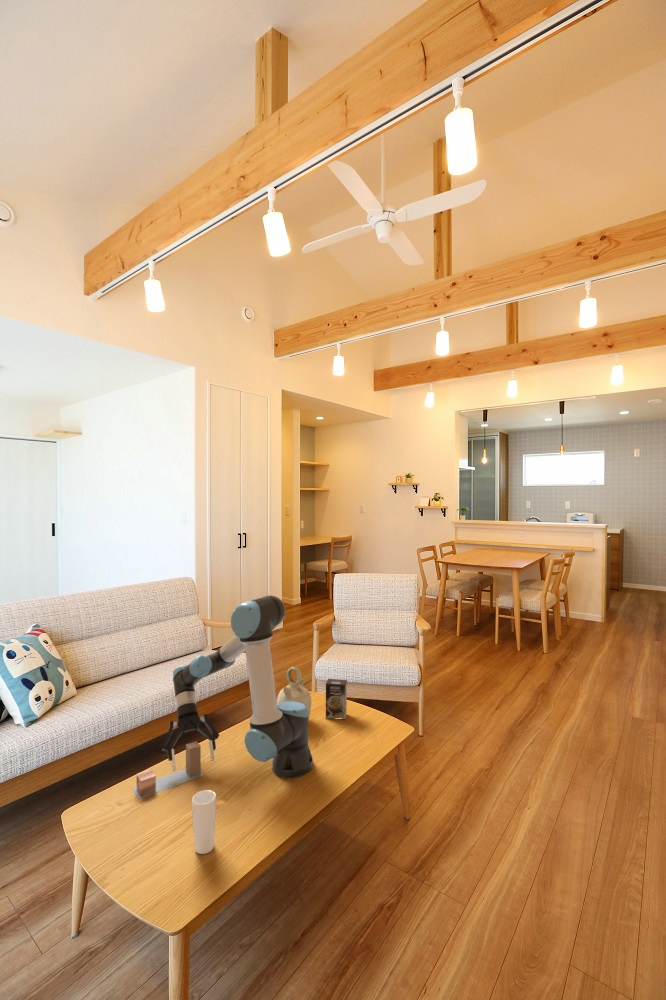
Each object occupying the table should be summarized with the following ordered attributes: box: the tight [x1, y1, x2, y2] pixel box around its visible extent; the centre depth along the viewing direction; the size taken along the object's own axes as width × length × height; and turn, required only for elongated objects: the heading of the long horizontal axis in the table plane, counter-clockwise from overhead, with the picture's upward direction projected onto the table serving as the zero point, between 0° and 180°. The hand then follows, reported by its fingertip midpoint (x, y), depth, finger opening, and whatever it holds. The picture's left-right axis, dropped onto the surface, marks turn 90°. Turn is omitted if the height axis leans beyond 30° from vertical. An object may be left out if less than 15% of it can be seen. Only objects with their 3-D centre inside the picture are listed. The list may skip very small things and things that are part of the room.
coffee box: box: [325, 678, 348, 720], centre depth 217 cm, size 9×6×16 cm
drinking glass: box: [191, 789, 217, 855], centre depth 137 cm, size 7×7×15 cm
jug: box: [276, 666, 312, 721], centre depth 211 cm, size 15×16×25 cm
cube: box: [135, 768, 157, 796], centre depth 163 cm, size 5×5×5 cm
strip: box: [132, 740, 203, 800], centre depth 167 cm, size 8×22×11 cm, turn 126°
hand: (194, 764), depth 171 cm, fingers open, 13 cm apart
